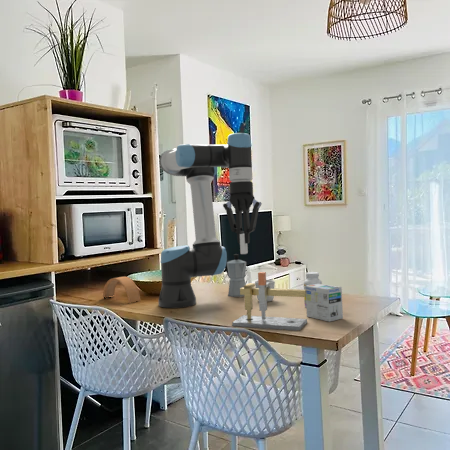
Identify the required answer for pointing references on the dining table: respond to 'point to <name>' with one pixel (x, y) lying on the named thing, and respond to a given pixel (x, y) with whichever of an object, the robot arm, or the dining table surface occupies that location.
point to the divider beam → (250, 291)
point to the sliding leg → (263, 293)
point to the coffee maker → (236, 276)
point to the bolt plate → (270, 322)
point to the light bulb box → (324, 302)
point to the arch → (127, 284)
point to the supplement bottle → (311, 280)
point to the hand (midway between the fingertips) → (244, 253)
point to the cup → (272, 284)
